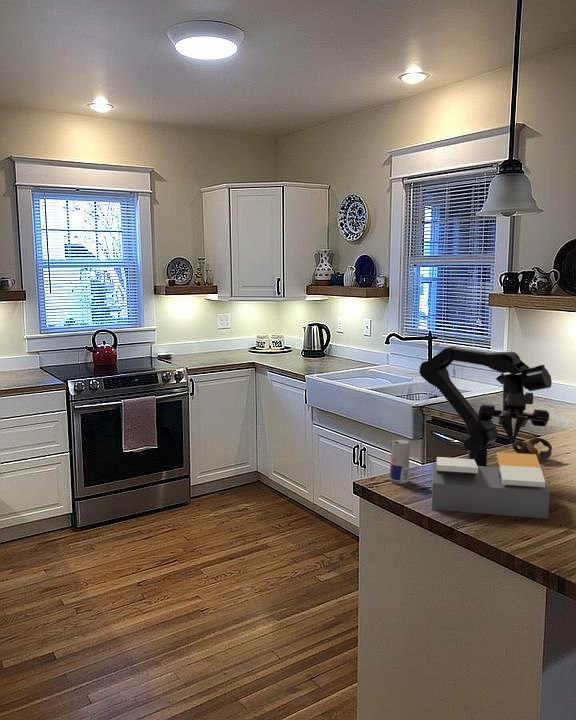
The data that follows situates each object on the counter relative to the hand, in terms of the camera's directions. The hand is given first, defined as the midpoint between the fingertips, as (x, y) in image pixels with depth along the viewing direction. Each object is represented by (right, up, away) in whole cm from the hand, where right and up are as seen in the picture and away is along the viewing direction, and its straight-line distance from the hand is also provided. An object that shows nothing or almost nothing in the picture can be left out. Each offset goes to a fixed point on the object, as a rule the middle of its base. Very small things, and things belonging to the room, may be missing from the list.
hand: (512, 443), depth 180 cm
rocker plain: (-19, -4, -10) cm, 22 cm away
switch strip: (-11, -14, -11) cm, 21 cm away
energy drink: (-31, -12, +6) cm, 34 cm away
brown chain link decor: (+16, -9, +28) cm, 33 cm away
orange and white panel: (-3, -5, -14) cm, 15 cm away
